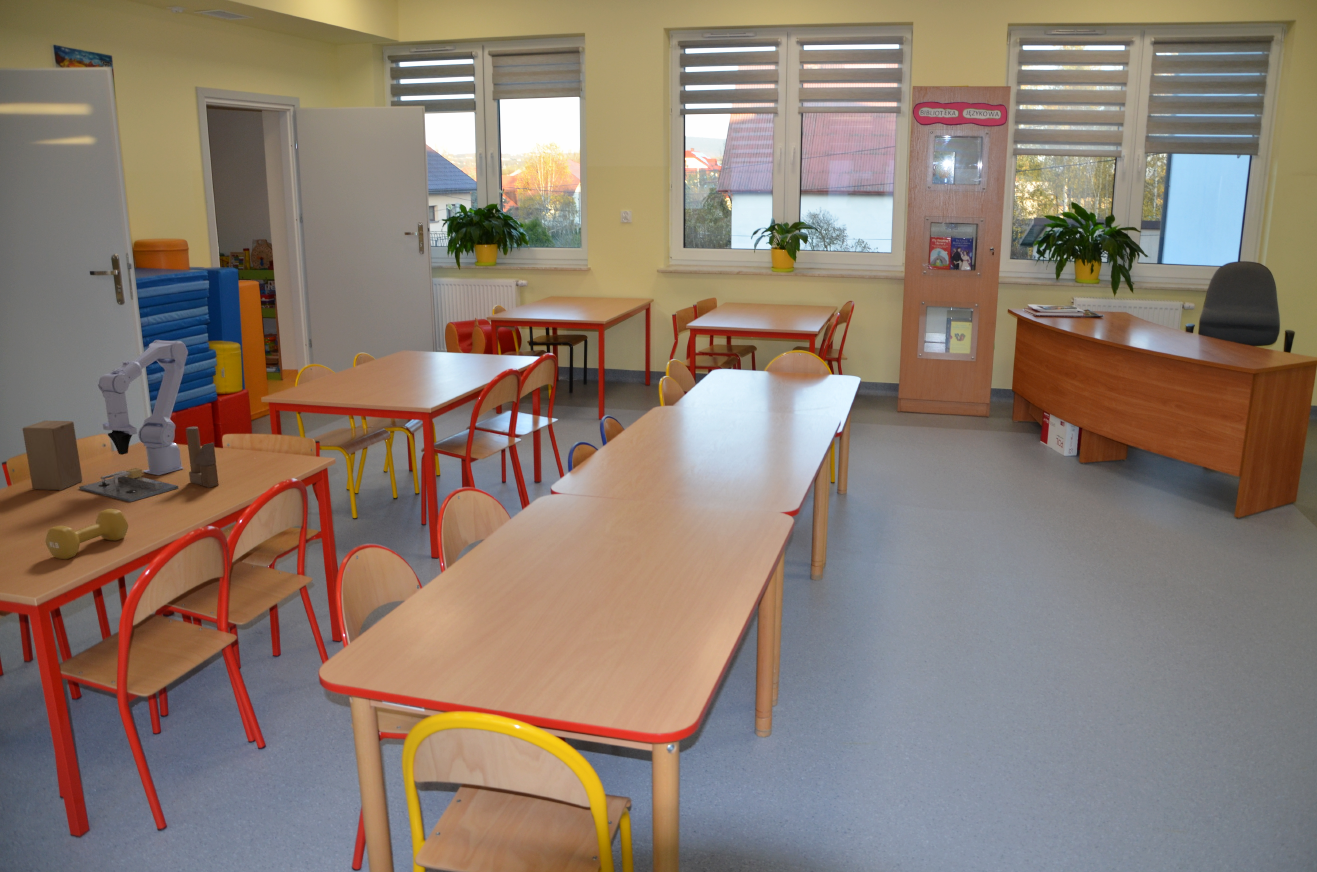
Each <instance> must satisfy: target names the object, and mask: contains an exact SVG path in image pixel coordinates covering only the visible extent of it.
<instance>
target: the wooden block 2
mask: <svg viewBox="0 0 1317 872" xmlns="http://www.w3.org/2000/svg"><path fill="white" fill-rule="evenodd" d="M185 432H186V433H185V434H186V440H187V449H188V457H189V464H190V471H188V475H189V482H190V483H192V484H195V485H198V486H202V487H204V488H208V489H209V488H213V487H217V486H219V485H220V484H219V476H218V469H217V458H216V450H215V442H210V443H205V444H202V446H201V440H200V431H199V427H198V426H188V427H186V428H185Z"/></svg>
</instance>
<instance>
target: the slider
mask: <svg viewBox="0 0 1317 872" xmlns="http://www.w3.org/2000/svg"><path fill="white" fill-rule="evenodd" d="M125 471H126V473H122V474H119V475H115V476H113V477H112V478H114V479H115V485H116V487H119V483H118V477H122V476H126V475H127V477H129V478H136V477H143V469H142V468H138V467H134V468H129V469H127V470H125Z"/></svg>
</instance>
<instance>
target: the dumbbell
mask: <svg viewBox="0 0 1317 872" xmlns="http://www.w3.org/2000/svg"><path fill="white" fill-rule="evenodd" d="M128 529H129V522H128V520H127V518H126V517H125V515H124V514H123V512H122V511H121V510H119V509H115V508H106V509H104V510H101V511H100V512H99V514H98V515H97V518H96V520H95V523H94V524H92V525H91V524H90V525H88V526H85V527H82V528H80V529H77V530H74V529H73V528H72V527H70V526H65V525H56V526H54V527H51V528H49V529H48V531H47V534H46V538H45V545H46V547H47V549H48V550H49V553H50V554H51V556H53V557H54V558H56V559H59V560H69V559H72V558H74V557H75V556H76V555H77V553H78V552H79V549H80V544H82V543H84V542H87V541H90V540H92V539H95V538H98V537H100V536H101V538H102V539H104V540H108V541H119V540H122V539H124V538H125V537H126V535H127V532H128Z"/></svg>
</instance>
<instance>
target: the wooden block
mask: <svg viewBox="0 0 1317 872" xmlns="http://www.w3.org/2000/svg"><path fill="white" fill-rule="evenodd" d="M74 423H75V422H74V421H72V420H42V421H39V422H36V423H33V424H30V425H28V426H24V427H22V435H23V440H24V445H25V446H24V447H25V451H26V457H27V463H28V469H29V475H30V481H31V482H30V483H31V487H32V490H43V491H45V490H47V491H63V490H65V489H68V488H69V487H72V486H74V485H76V484H79V483H81V482H83V475H82V468H81V462H80V456H79V447H78V443H77V442H78V441H77V436H76V435H77V434H76V429H75V424H74Z"/></svg>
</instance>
